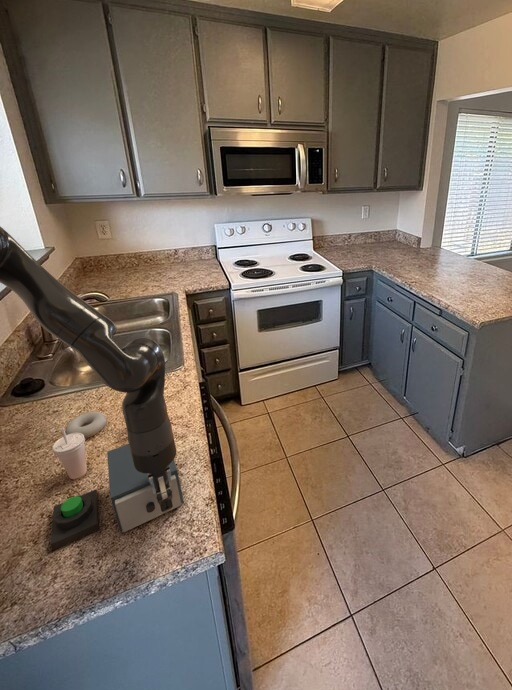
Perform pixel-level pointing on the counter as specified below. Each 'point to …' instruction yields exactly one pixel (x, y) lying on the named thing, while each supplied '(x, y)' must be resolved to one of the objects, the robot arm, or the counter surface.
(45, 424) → the counter surface
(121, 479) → the cabinet
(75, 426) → the donut
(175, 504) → the drawer
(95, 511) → the control block
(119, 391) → the robot arm
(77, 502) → the button
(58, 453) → the smoothie
